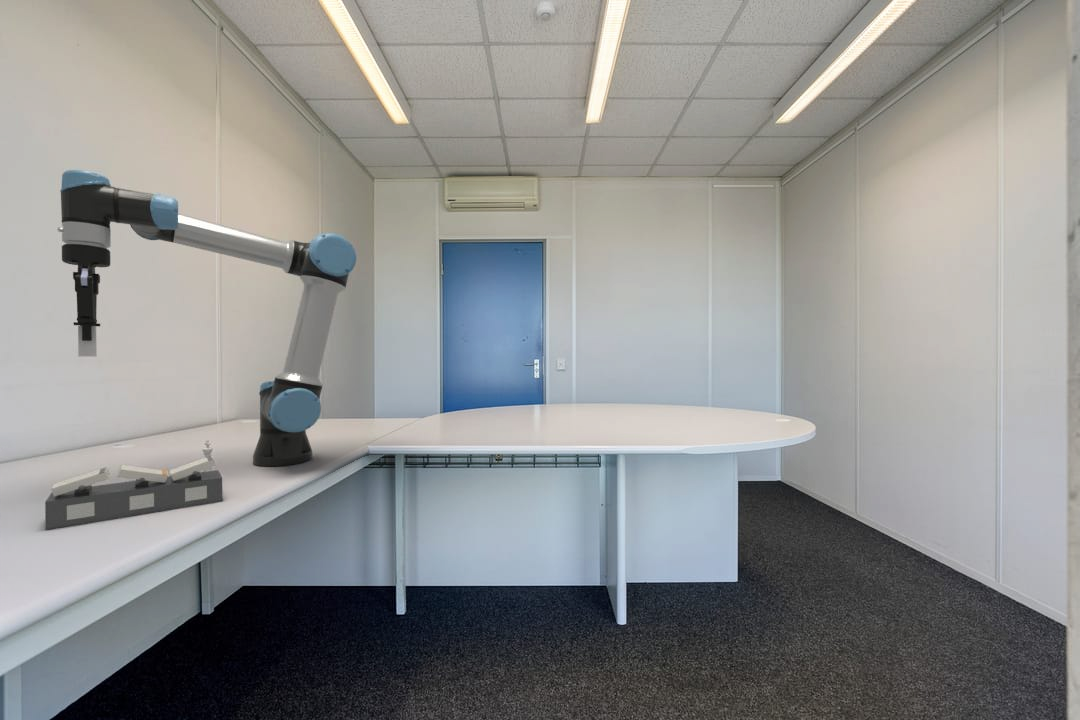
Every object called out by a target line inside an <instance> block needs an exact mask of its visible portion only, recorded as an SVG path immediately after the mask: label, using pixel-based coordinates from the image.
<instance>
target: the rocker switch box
mask: <svg viewBox="0 0 1080 720" xmlns="http://www.w3.org/2000/svg"><path fill="white" fill-rule="evenodd" d="M219 501H220V502H223V476H222V475H221V472H220V471H219V470H218V469H217V470H211V471H207V472H204V471H200V472H198V474H197V475H193V474H192V475H189V476H186V477H183V478H181V479H178V480H175V481H173V479H172V476H171V475H168V477H167V479H166V482H165V483H163V482H155V481H146V480H145V481H144V482H139V480H138V479H135V480H130V481H123V482H122V481H121V482H115V483H106V484H99V485H93V484H92V485H89V486H86V487H85V489H84V490H79V489H76V490H73V491H70V492H67V493H64V494H61V495H57V496H54V495H53V493H52V492H51V493H50V494H49V496H48V498H47V499H46V500H45V501H44V502H45V503H44V504H45V505H44V507H45V509H44V510H45V511H44V512H45V520H44V521H45V523H44V524H45V531H47V530H55V529H60V528H66V527H67V528H68V527H72V526H80V525H85V524H86V525H87V524H91V523H97V522H103V521H109V520H115V519H121V518H129V517H132V516H133V517H134V516H138V515H139V516H140V515H145V514H153V513H158V512H165V511H170V510H178V509H183V508H189V507H194V506H195V505H196V506H200V505H201V506H202V505H206V504H214V503H218V502H219Z"/></svg>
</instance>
